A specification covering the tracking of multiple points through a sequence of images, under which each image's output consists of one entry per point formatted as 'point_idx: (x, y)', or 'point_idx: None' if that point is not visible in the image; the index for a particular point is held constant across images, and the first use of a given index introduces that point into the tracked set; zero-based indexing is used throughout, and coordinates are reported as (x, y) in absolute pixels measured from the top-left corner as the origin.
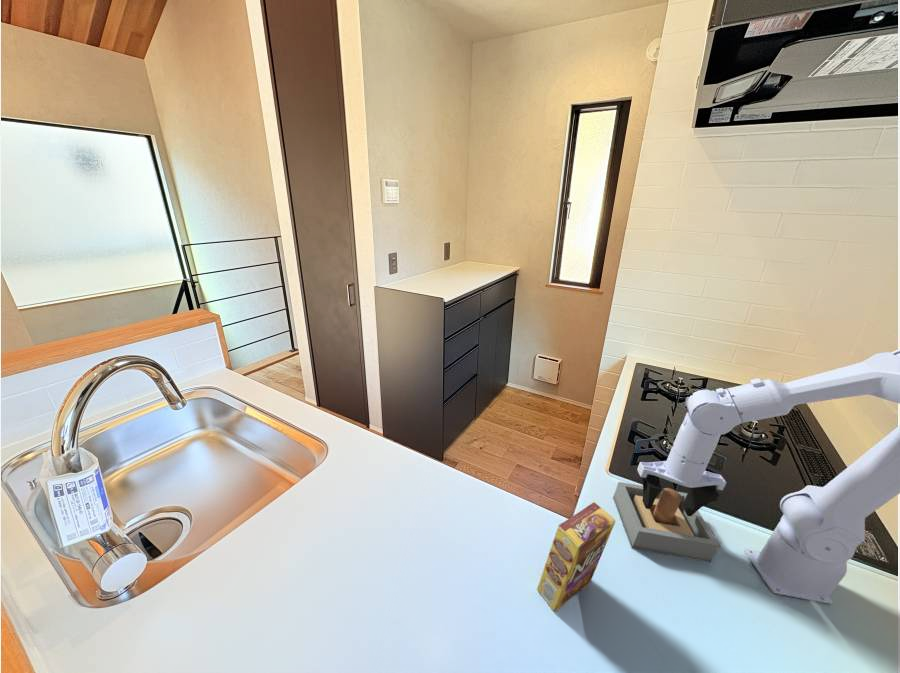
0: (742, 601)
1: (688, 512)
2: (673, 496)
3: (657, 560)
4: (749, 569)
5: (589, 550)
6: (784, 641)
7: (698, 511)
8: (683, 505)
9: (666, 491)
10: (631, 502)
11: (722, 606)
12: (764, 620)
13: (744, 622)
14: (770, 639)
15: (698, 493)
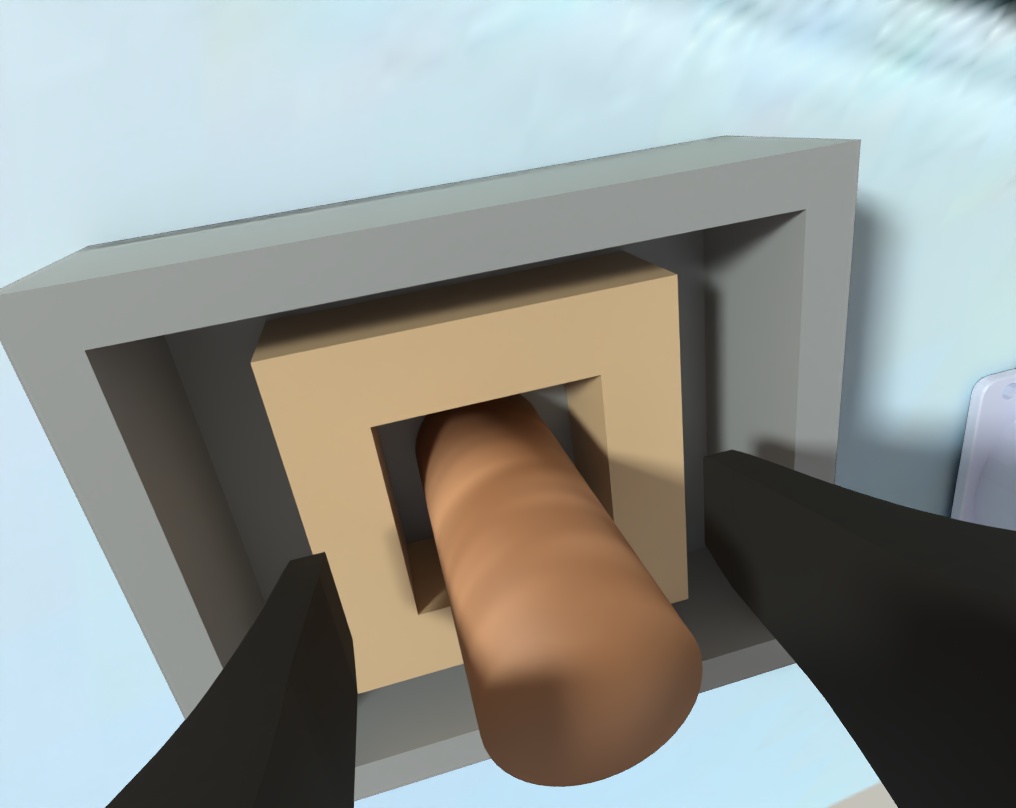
0: (772, 681)
1: (723, 558)
2: (599, 728)
3: None
4: (916, 493)
5: None
6: (836, 755)
7: (840, 384)
8: (716, 467)
9: (532, 685)
10: (177, 583)
11: (669, 745)
12: (814, 716)
13: (727, 763)
14: (789, 774)
15: (942, 780)
